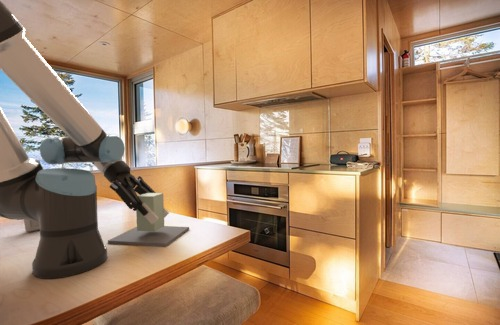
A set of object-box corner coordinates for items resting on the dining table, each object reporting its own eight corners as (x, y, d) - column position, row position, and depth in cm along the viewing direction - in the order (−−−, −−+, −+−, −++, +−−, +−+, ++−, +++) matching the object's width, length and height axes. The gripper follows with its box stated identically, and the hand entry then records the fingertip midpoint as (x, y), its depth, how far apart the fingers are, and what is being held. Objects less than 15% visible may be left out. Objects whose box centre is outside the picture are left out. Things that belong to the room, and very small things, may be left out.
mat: (166, 246, 75) (166, 243, 75) (107, 243, 78) (107, 240, 78) (189, 229, 91) (189, 227, 91) (139, 227, 94) (139, 225, 94)
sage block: (154, 231, 81) (153, 196, 80) (137, 230, 82) (135, 196, 81) (164, 225, 87) (163, 193, 86) (147, 225, 88) (146, 192, 87)
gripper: (125, 172, 96) (168, 218, 93) (83, 179, 77) (135, 236, 75) (137, 158, 94) (181, 204, 92) (98, 160, 76) (151, 218, 74)
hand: (160, 218), depth 84 cm, fingers closed on sage block, 6 cm apart
